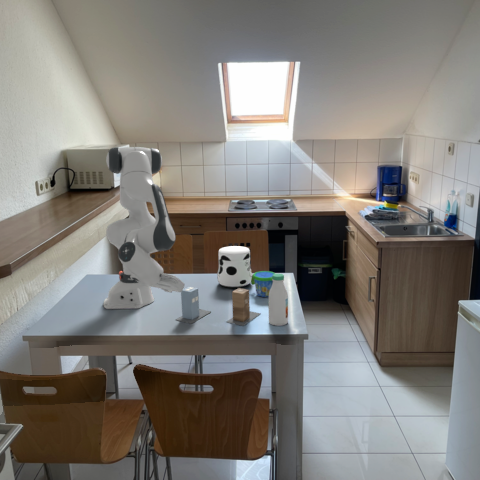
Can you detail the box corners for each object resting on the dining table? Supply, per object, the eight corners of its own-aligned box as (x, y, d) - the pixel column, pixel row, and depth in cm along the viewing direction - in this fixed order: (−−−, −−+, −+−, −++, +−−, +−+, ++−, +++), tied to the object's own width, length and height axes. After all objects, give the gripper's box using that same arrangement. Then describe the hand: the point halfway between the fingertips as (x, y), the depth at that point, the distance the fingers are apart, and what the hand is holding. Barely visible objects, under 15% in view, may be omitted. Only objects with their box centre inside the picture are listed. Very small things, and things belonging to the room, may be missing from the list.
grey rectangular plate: (243, 326, 187) (243, 325, 187) (226, 322, 191) (226, 321, 191) (260, 314, 199) (260, 313, 199) (244, 310, 203) (244, 309, 203)
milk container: (259, 284, 236) (259, 249, 232) (234, 293, 225) (233, 256, 220) (235, 277, 248) (235, 243, 244) (210, 284, 237) (209, 250, 233)
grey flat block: (191, 323, 191) (191, 323, 191) (175, 320, 195) (175, 319, 195) (211, 312, 202) (211, 311, 202) (196, 308, 206) (196, 308, 206)
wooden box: (243, 322, 190) (243, 293, 187) (232, 319, 193) (232, 291, 190) (250, 317, 194) (249, 289, 191) (239, 315, 197) (238, 287, 194)
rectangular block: (192, 319, 193) (191, 291, 190) (182, 317, 196) (180, 289, 193) (199, 315, 197) (198, 288, 195) (189, 313, 200) (188, 286, 197)
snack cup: (284, 296, 218) (284, 275, 216) (267, 302, 212) (267, 280, 210) (262, 288, 230) (262, 268, 228) (245, 293, 224) (245, 272, 222)
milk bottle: (282, 327, 185) (282, 279, 180) (265, 323, 189) (264, 276, 184) (291, 320, 191) (291, 273, 187) (274, 317, 195) (274, 270, 191)
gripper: (176, 269, 168) (194, 287, 179) (134, 262, 179) (153, 279, 189) (169, 285, 166) (187, 302, 176) (126, 276, 176) (146, 293, 187)
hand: (169, 290), depth 183 cm, fingers closed
